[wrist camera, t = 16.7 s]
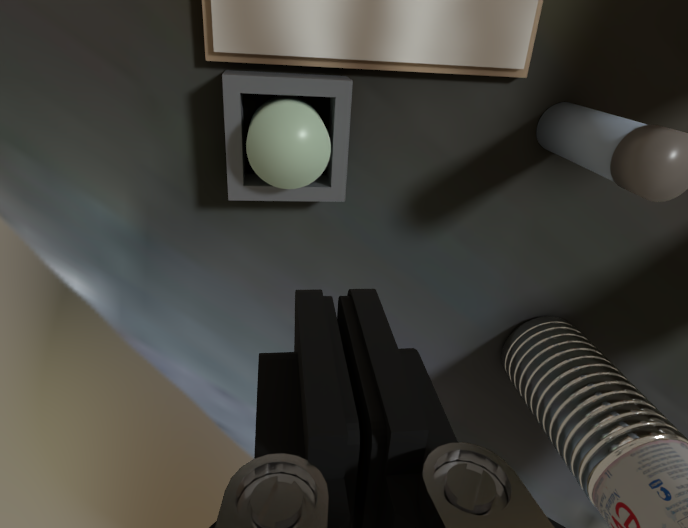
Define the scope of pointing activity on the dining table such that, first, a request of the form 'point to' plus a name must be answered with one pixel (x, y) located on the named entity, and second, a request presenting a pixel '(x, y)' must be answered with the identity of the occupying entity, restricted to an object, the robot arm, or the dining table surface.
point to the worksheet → (376, 34)
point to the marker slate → (618, 149)
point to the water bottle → (600, 425)
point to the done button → (287, 143)
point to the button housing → (297, 85)
